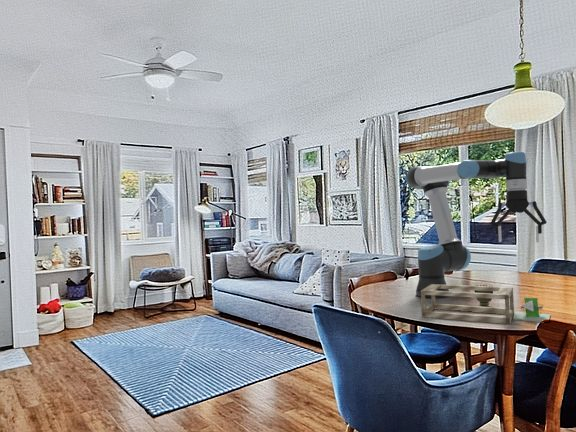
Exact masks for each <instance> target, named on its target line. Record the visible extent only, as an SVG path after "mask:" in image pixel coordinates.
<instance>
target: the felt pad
mask: <svg viewBox="0 0 576 432" xmlns="http://www.w3.org/2000/svg"><path fill="white" fill-rule="evenodd" d="M525 314H526V311H522V312H521V311H516V312H514V316H513V318H512V320H513V321H521V322H534V323H541V322H540V321H542V320H545V319H551V314H550V313H540V312H539V316H540V317H526V315H525Z"/></svg>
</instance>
